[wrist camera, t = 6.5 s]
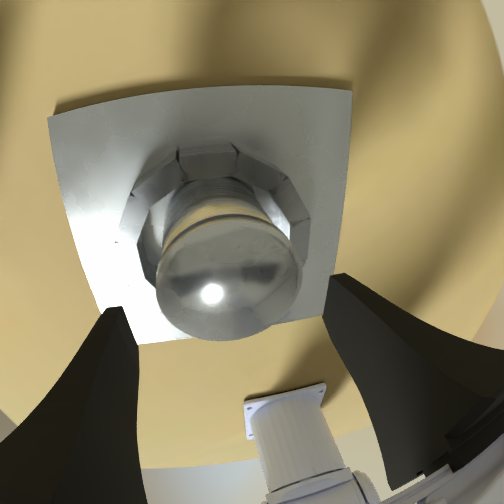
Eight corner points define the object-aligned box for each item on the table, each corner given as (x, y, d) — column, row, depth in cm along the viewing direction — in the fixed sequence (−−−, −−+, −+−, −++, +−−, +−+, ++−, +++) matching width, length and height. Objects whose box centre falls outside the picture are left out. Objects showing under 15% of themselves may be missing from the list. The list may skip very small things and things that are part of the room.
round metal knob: (268, 172, 13) (312, 217, 9) (262, 264, 16) (293, 331, 12) (155, 177, 12) (144, 229, 8) (166, 273, 15) (167, 347, 11)
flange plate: (322, 308, 20) (335, 330, 18) (117, 338, 17) (114, 364, 16) (346, 90, 12) (371, 93, 11) (52, 115, 10) (31, 122, 8)
